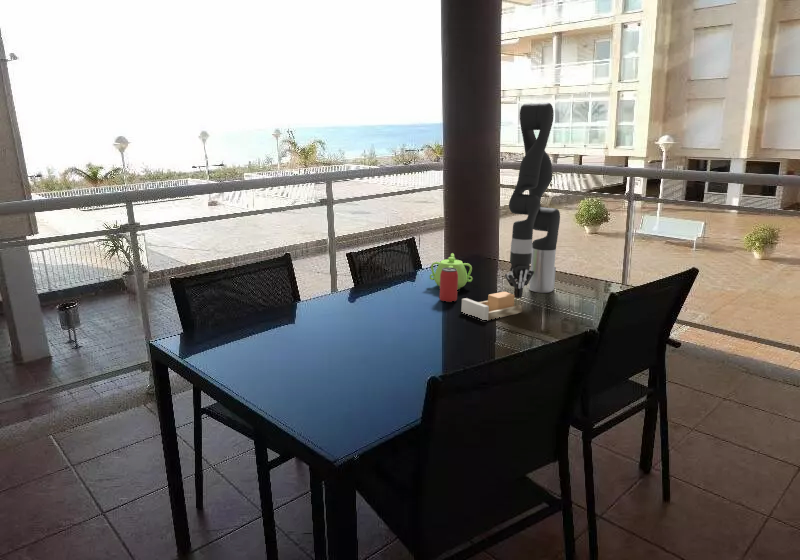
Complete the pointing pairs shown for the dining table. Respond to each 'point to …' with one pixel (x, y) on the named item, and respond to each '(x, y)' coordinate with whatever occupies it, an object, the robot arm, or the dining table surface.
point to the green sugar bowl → (452, 264)
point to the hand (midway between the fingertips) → (517, 297)
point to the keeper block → (500, 300)
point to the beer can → (448, 284)
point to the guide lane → (502, 311)
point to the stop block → (475, 309)
